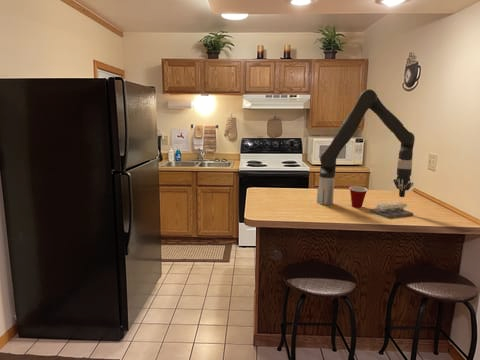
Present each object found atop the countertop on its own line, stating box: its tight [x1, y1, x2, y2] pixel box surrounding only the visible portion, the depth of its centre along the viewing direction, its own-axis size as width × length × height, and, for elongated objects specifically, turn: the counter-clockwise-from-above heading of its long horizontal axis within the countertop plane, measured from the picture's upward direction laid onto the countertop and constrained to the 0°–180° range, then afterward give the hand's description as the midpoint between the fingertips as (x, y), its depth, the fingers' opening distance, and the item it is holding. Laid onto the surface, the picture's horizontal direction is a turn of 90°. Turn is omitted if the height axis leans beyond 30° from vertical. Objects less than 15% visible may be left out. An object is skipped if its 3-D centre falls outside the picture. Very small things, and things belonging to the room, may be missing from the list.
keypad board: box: [369, 207, 414, 219], centre depth 195 cm, size 18×14×4 cm
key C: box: [394, 200, 408, 210], centre depth 197 cm, size 5×5×4 cm
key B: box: [385, 201, 398, 211], centre depth 194 cm, size 5×5×4 cm
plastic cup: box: [348, 185, 368, 209], centre depth 207 cm, size 11×11×12 cm
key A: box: [375, 202, 389, 212], centre depth 192 cm, size 5×5×4 cm
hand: (401, 196), depth 196 cm, fingers closed
